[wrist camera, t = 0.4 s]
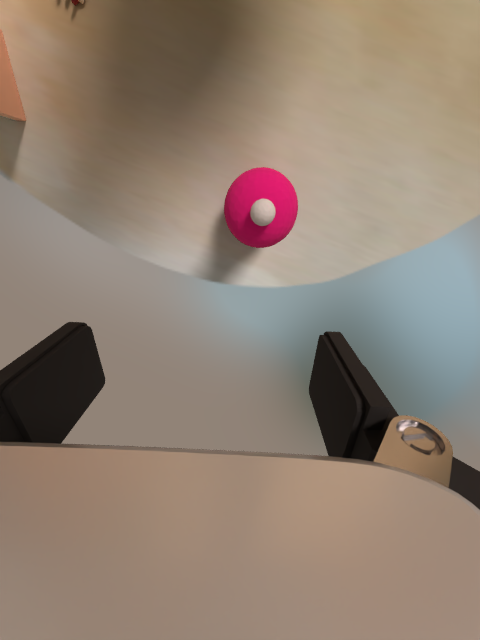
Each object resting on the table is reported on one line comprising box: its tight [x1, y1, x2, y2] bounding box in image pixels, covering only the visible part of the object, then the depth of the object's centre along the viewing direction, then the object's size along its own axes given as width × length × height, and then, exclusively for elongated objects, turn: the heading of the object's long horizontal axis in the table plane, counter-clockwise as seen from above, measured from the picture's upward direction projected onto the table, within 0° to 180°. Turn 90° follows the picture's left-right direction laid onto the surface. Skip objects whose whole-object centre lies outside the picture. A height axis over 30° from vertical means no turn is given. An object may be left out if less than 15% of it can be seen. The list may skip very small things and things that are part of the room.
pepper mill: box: [224, 167, 298, 248], centre depth 26 cm, size 7×7×20 cm
